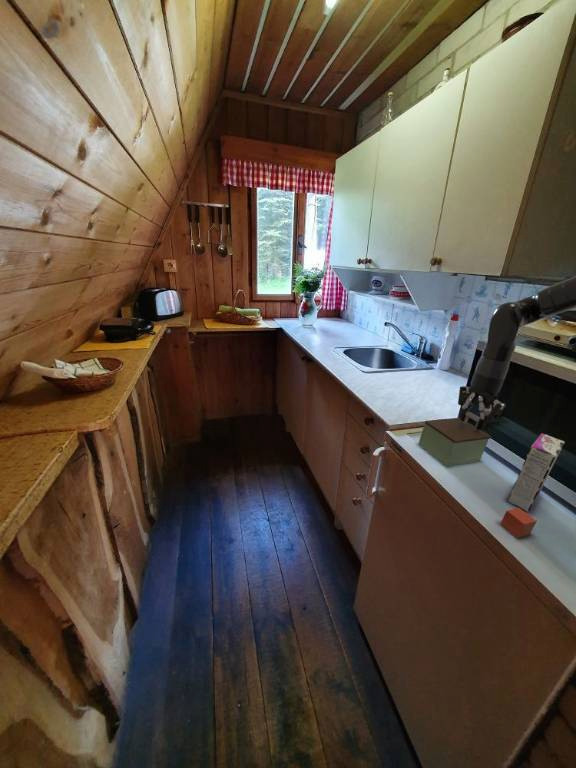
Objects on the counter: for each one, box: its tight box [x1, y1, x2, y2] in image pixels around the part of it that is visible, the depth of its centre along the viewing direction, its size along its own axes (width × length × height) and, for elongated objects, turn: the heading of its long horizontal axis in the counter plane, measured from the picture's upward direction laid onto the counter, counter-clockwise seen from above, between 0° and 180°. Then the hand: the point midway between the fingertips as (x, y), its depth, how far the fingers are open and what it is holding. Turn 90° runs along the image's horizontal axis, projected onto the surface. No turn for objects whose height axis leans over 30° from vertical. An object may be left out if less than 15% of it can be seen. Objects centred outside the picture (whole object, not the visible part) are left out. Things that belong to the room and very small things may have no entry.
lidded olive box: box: [417, 422, 490, 467], centre depth 94 cm, size 14×12×8 cm
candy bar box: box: [507, 433, 565, 513], centre depth 76 cm, size 11×5×16 cm, turn 131°
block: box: [500, 506, 538, 539], centre depth 67 cm, size 4×4×4 cm
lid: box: [424, 411, 493, 443], centre depth 92 cm, size 14×12×5 cm
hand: (471, 424), depth 94 cm, fingers closed on lid, 5 cm apart
